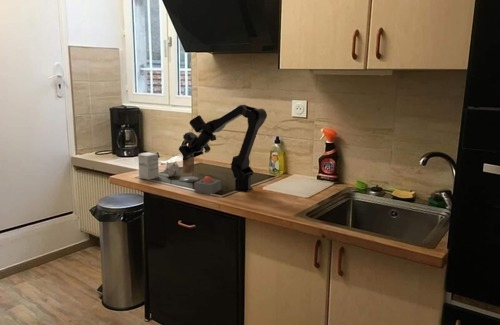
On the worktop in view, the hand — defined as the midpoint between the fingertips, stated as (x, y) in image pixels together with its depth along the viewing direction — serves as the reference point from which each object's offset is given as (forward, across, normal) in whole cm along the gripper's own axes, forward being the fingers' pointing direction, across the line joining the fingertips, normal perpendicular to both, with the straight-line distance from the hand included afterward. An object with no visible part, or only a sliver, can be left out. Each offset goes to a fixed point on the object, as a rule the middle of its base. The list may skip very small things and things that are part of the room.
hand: (186, 159), depth 210 cm
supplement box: (+21, +8, -6) cm, 23 cm away
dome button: (-9, +11, +23) cm, 27 cm away
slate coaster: (+6, 0, +8) cm, 11 cm away
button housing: (-8, +11, +23) cm, 27 cm away
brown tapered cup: (+4, 0, +6) cm, 7 cm away
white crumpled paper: (+14, 0, 0) cm, 15 cm away
